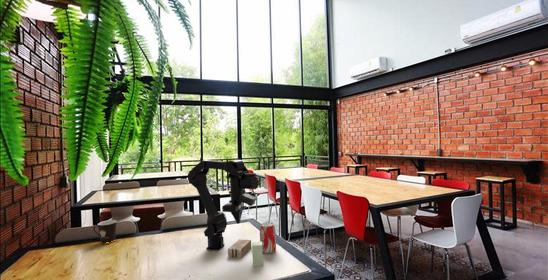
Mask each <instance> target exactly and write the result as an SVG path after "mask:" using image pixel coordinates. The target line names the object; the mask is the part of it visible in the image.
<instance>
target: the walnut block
mask: <svg viewBox="0 0 548 280" xmlns="http://www.w3.org/2000/svg"><path fill="white" fill-rule="evenodd" d="M250 249H252V240H251V239H237V240H236V241H235V242H234V243H233V244H232V245H231V246H230V247H228V248H227V257H228V258H237V259H238V258H239V259H242V258H243V257H244V256H245V254H247V253H248V252H249V251H250Z"/></svg>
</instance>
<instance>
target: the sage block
mask: <svg viewBox="0 0 548 280" xmlns="http://www.w3.org/2000/svg"><path fill="white" fill-rule="evenodd" d="M251 252H252V267H257V266H258V267H259V266H261V267H262V266H264V259H263V257H264V256H263V253H264V252H262V242H260V241H253V242H252V241H251Z"/></svg>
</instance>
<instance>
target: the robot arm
mask: <svg viewBox="0 0 548 280" xmlns="http://www.w3.org/2000/svg"><path fill="white" fill-rule="evenodd" d="M210 169H212V170H221V171H224V172H226V173H228V174H227V175H226V176H225V178H226V179H229V182H230V183H229V184H230V185H229V187H230V188H229V189H230V190H229V191H228V194H229V195H230V200H228V203H225V204H223V206H222V207H221V212H219V211H218V209H217V207H216V206H217V205H215V202H214V199H213V197H212V195H211V191H210V190H209V187H208V185H207V182H208V177H207V175H208V173H209V172H210ZM256 175H257V173H256V172H255V173H254V172H253V173H251V172H249V170H248V168H247V167H246V165H245V163H244V161H243V160H242V159H235V160H228V161H226V160H225V161H224V160H213V159H211V160H210V159H202V160H200V161H199V162H198V164H196V165H195V166H193V167H192V168H191V170H189V171H188V173H187V180H188V182H190V184H191V186H193V187H194V188H195V189H196V191H197V193H198V195H199V198H200V200H201V203H202V206H203V208H204V210H205V212H206V215H207V217H206V218H207V219H206V224H207V227H206V228H205V230H204V231H203V233H204V237H205V238H206V237H207V247H205V249H206V250H211V251H212V250H213V251H219V250H221V249H222V248H223V247H224V246H225V242H224V236H223V233H225V230H226V229H227V225H228V223H227V219H226V217H225V214H224V213H230V214H231V215H232V217H233V219H234V221H235V222H236V224H240V223H241V219H242V215H243V212H244V210H245V209H246V208H247V205H248V206H249V207H252V206H254V205H255V204H256V201H257V200H258V197H257V193H256V192H251V193H246V190H257V189H258V187H259V186H260V185H259V184H260V180H259V178H258V176H256ZM244 204H246V205H244Z"/></svg>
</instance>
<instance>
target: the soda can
mask: <svg viewBox="0 0 548 280" xmlns="http://www.w3.org/2000/svg"><path fill="white" fill-rule="evenodd" d="M259 242H262V253H264V254H272V253H274V252H275V251H276V250H277V233H276V227H275V224H274V223H273V222H262V223H261V224H260V227H259Z"/></svg>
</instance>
